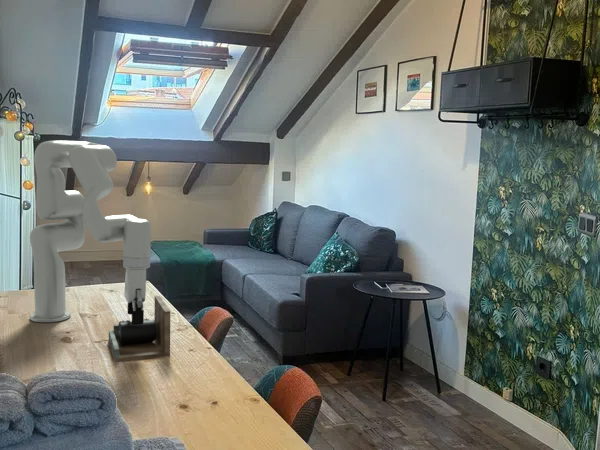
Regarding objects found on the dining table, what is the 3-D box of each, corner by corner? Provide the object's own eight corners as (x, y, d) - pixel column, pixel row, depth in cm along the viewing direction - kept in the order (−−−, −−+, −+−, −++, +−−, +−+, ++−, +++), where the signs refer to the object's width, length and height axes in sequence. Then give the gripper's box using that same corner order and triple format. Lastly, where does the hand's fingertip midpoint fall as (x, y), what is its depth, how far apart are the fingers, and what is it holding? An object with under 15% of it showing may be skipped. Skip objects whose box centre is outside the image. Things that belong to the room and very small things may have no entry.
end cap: (121, 349, 174) (121, 326, 173) (117, 341, 181) (117, 319, 180) (156, 345, 179) (156, 322, 178) (151, 337, 185) (151, 316, 184)
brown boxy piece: (108, 341, 184) (108, 298, 182) (159, 336, 189) (159, 295, 188) (114, 361, 167) (114, 315, 166) (170, 356, 173) (170, 311, 171)
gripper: (119, 255, 183) (118, 311, 185) (126, 269, 167) (125, 329, 170) (145, 255, 186) (144, 309, 188) (154, 268, 170) (153, 327, 173)
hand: (135, 318), depth 179 cm, fingers open, 9 cm apart
